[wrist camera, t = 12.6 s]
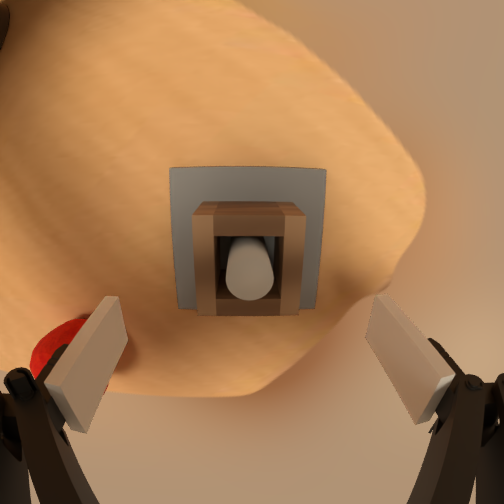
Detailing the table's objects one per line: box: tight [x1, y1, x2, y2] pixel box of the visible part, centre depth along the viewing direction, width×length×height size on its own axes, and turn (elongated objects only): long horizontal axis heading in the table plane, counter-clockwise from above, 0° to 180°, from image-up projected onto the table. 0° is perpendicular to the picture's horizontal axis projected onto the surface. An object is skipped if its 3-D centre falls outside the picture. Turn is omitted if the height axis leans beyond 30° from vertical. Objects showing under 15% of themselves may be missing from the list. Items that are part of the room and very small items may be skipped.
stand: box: [169, 166, 326, 309], centre depth 24 cm, size 14×14×9 cm
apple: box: [30, 319, 108, 395], centre depth 27 cm, size 9×9×11 cm
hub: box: [192, 201, 306, 316], centre depth 25 cm, size 8×8×6 cm
